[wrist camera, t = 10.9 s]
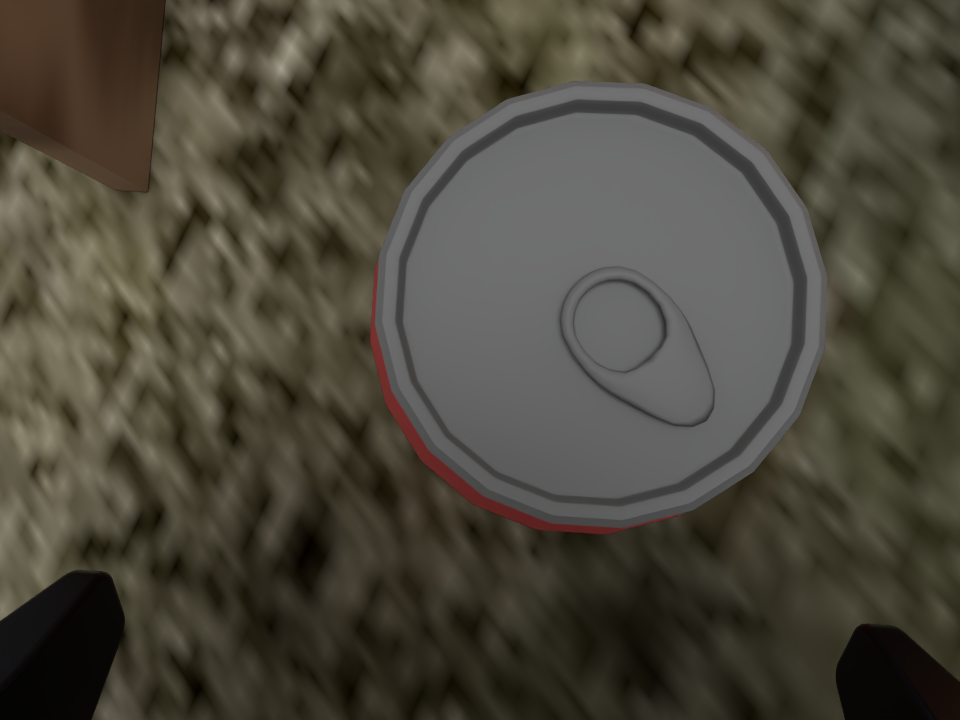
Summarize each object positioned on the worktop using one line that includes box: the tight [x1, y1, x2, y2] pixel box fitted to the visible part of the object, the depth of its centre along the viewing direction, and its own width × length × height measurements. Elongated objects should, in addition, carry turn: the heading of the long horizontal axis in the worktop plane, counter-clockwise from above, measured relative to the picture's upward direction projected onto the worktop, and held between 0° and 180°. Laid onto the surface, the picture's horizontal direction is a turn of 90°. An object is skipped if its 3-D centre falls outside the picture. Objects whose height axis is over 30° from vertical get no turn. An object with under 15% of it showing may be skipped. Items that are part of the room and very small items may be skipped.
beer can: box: [370, 81, 827, 534], centre depth 14 cm, size 7×7×12 cm
